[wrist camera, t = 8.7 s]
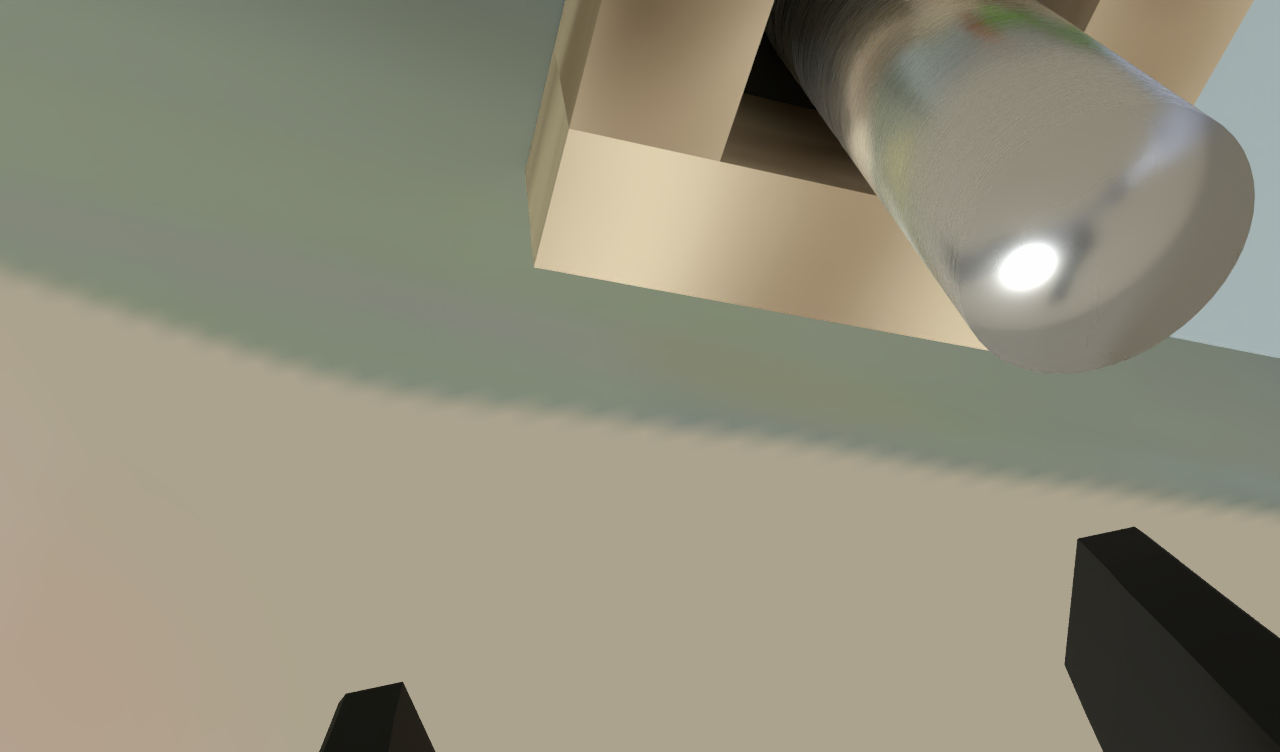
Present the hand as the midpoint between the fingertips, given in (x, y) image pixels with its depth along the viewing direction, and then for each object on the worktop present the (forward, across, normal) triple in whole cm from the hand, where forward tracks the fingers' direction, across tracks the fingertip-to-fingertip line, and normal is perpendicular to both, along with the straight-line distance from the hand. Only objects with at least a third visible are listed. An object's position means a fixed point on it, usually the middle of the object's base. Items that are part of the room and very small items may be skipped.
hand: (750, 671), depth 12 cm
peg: (+10, -4, -3) cm, 12 cm away
